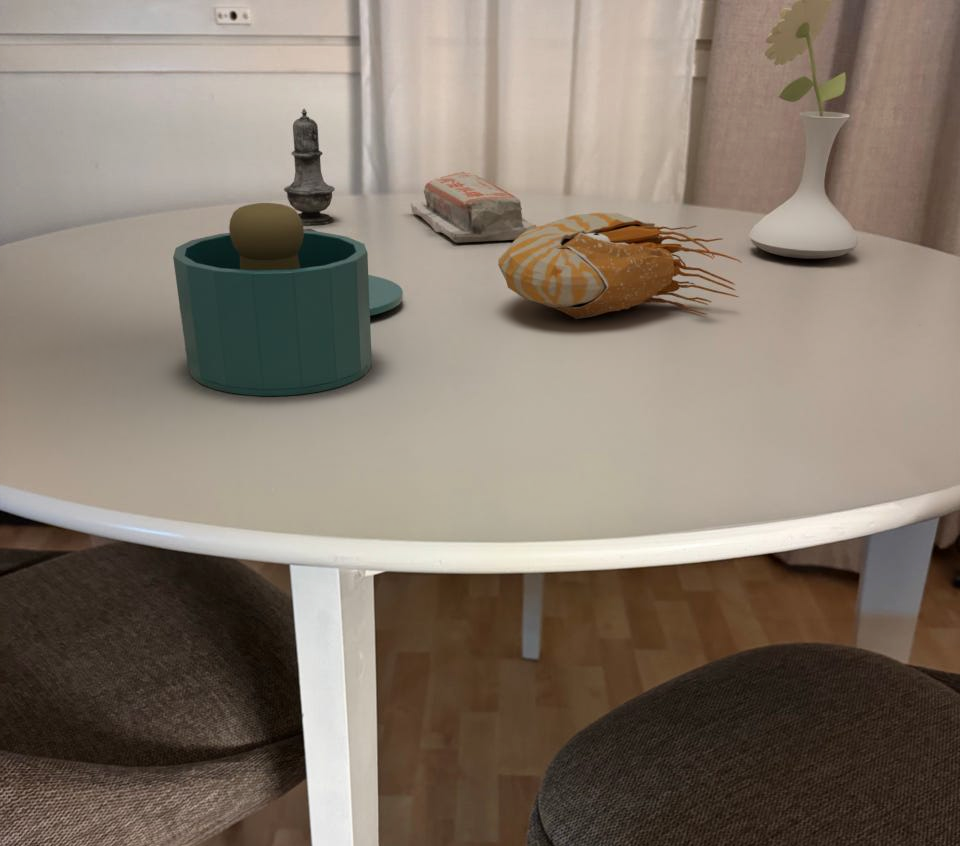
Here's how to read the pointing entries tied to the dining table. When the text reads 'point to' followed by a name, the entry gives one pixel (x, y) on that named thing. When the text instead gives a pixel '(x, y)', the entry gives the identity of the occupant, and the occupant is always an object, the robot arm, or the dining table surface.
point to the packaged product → (471, 209)
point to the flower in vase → (807, 149)
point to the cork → (267, 236)
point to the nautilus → (599, 264)
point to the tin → (275, 317)
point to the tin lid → (381, 293)
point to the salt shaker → (308, 175)
